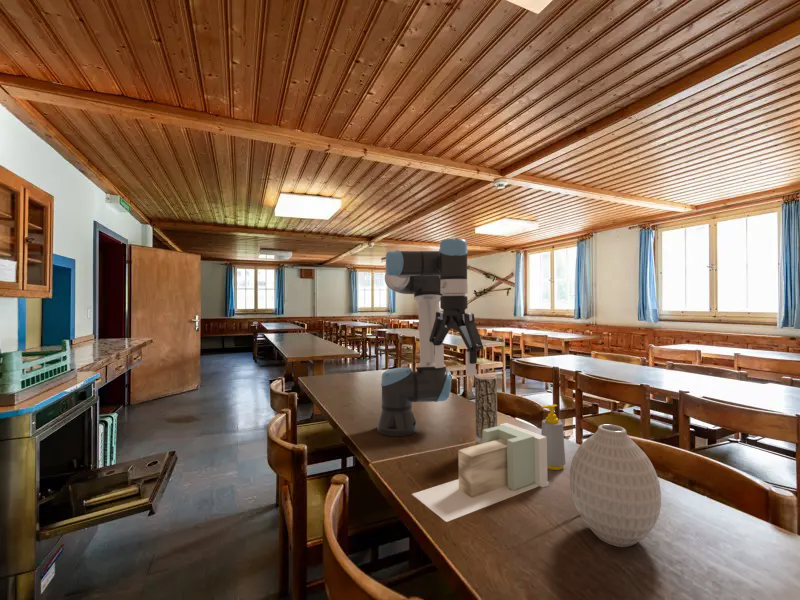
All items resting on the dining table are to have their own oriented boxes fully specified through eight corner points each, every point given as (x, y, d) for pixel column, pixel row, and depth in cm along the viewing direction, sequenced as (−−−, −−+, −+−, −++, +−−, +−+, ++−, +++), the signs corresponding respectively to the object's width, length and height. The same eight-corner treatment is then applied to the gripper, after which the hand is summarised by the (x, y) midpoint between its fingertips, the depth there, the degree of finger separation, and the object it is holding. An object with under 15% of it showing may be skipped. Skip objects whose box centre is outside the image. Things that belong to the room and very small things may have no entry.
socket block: (482, 473, 102) (482, 429, 103) (503, 466, 107) (503, 424, 107) (513, 490, 93) (512, 442, 93) (535, 482, 97) (534, 436, 97)
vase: (596, 506, 87) (595, 411, 87) (677, 543, 74) (675, 431, 74) (554, 529, 78) (552, 424, 79) (636, 576, 65) (634, 448, 65)
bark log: (498, 458, 115) (497, 378, 115) (476, 457, 116) (474, 377, 116) (497, 450, 121) (496, 373, 122) (476, 448, 123) (475, 373, 123)
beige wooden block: (458, 489, 94) (458, 450, 94) (501, 475, 102) (500, 438, 102) (472, 498, 90) (471, 456, 90) (515, 482, 98) (514, 444, 98)
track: (411, 497, 92) (411, 445, 92) (508, 465, 110) (507, 422, 110) (446, 525, 80) (445, 466, 80) (548, 485, 98) (548, 436, 98)
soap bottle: (535, 463, 111) (534, 403, 112) (553, 459, 114) (552, 401, 114) (551, 472, 105) (550, 409, 105) (571, 468, 107) (569, 406, 107)
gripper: (417, 295, 111) (418, 365, 112) (474, 294, 90) (475, 381, 90) (437, 295, 115) (438, 363, 115) (496, 294, 94) (497, 378, 94)
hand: (454, 371), depth 103 cm, fingers open, 13 cm apart
